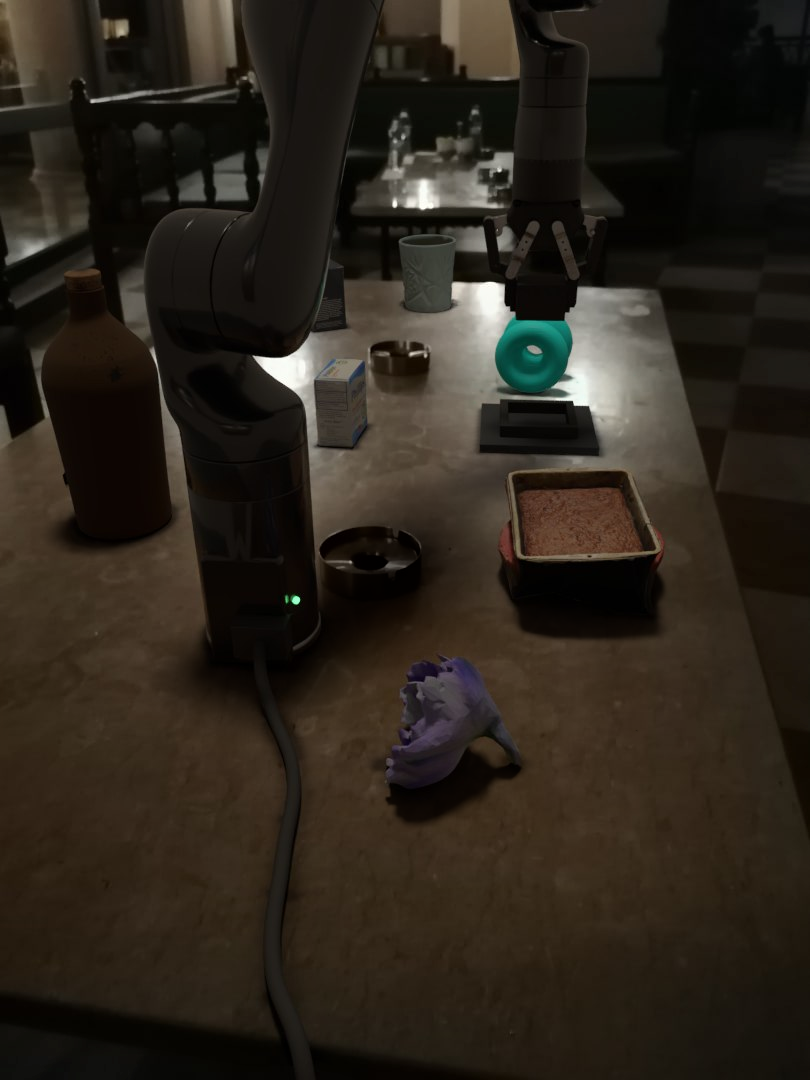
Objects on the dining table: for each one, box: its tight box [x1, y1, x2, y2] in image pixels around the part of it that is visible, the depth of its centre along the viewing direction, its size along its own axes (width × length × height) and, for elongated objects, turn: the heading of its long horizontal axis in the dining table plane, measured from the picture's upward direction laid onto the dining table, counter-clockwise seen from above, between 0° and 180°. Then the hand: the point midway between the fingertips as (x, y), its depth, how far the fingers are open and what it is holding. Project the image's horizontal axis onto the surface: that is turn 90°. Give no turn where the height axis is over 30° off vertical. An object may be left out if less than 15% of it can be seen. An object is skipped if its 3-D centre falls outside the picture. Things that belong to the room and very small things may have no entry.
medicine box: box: [313, 358, 368, 448], centre depth 111 cm, size 8×4×9 cm, turn 168°
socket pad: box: [478, 398, 600, 456], centre depth 113 cm, size 14×14×2 cm
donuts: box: [494, 315, 574, 394], centre depth 127 cm, size 10×10×10 cm
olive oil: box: [40, 268, 173, 541], centre depth 87 cm, size 11×11×25 cm
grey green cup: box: [398, 233, 457, 313], centre depth 164 cm, size 10×10×12 cm
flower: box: [384, 652, 522, 790], centre depth 60 cm, size 9×9×10 cm
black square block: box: [514, 273, 567, 321], centre depth 104 cm, size 6×6×4 cm
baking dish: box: [497, 467, 665, 616], centre depth 81 cm, size 14×18×10 cm
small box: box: [311, 258, 348, 333], centre depth 156 cm, size 11×6×10 cm, turn 25°
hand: (539, 310), depth 105 cm, fingers closed on black square block, 5 cm apart
